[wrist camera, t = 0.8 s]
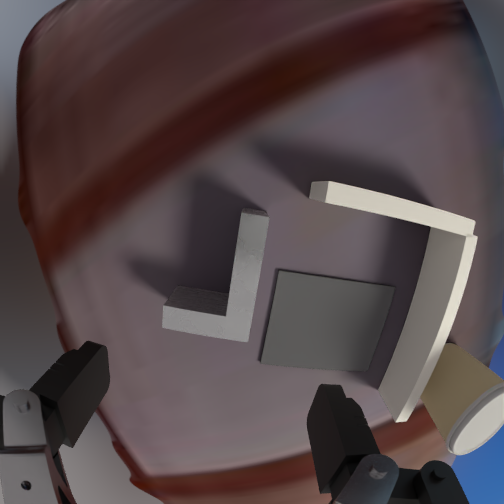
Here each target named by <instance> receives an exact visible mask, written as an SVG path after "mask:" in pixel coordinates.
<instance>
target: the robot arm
mask: <svg viewBox="0 0 504 504" xmlns="http://www.w3.org/2000/svg"><path fill="white" fill-rule="evenodd" d="M109 383H110V373H109V363H108V351H107V347H106V346H104V345H101V344H98V343H94V342H91V341H86V342H85V343H84V344H83V345H82V346H81V347H80V348H79V349H78V350H75V349H73V350H71V351H69V352H67V353H65V354H63V355H62V356H61V357H60V358H59V359H58V360H57V361H56V363H54V364H53V365H52V366H51V367H50V369H48V371H46V373H45V374H44V375H43V376H42V377H41V378H40V379H39V380H38V381H37V382H36V383H35V384H34V385H33V387H32V388H31V389H30V390H24V389H19V390H14V391H12V392H10V393H9V394H7V395H6V396H2V395H0V478H1V485H2V491H3V497H4V503H5V504H77V503H76V501H75V499H74V497H73V495H72V492H71V489H70V486H69V483H68V480H67V477H66V473H65V470H64V466H63V463H62V459H61V455H60V452H59V448H60V446H61V445H62V444H65V445H67V446H69V447H71V448H73V447H74V445H75V443H76V441H77V440H78V438H79V436H80V435H81V433H82V431H83V430H84V428H85V426H86V425H87V423H88V421H89V420H90V418H91V416H92V415H93V413H94V412H95V410H96V408H97V407H98V405H99V404H100V402H101V400H102V399H103V397H104V396H105V394H106V392H107V390H108V388H109ZM364 417H365V416H364V414H363V411H362V409H361V407H360V406H359V405H358V404H357V403H356V402H355V401H354V400H353V399H352V398H346V396H345V394H344V391H343V389H342V386H341V385H330V384H321V385H320V386H319V387H318V390H317V392H316V395H315V397H314V400H313V403H312V405H311V408H310V410H309V413H308V417H307V430H308V435H309V440H310V445H311V450H312V455H313V460H314V465H315V470H316V476H317V481H318V486H319V491H320V494H322V493H331V496H332V500H331V501H330V502H329V504H469V502H468V500H467V498H466V495H465V494H464V491H463V489H462V487H461V485H460V483H459V481H458V479H457V477H456V475H455V473H454V471H453V469H452V468H451V467H450V466H449V465H448V464H446V463H444V462H442V461H437V460H434V461H429V462H427V463H426V464H425V465H424V466H423V467H422V468H421V469H420V470H414V469H404V468H399V467H398V465H397V464H396V462H395V461H394V460H393V459H391V458H390V457H388V456H386V455H382V454H381V453H380V451H379V449H378V446H377V444H376V442H375V439H374V437H373V435H372V432H371V430H370V427H369V426H368V423H367V421H366V418H364Z"/></svg>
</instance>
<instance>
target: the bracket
mask: <svg viewBox="0 0 504 504" xmlns="http://www.w3.org/2000/svg"><path fill="white" fill-rule="evenodd" d="M269 218H270V217H269V215H268V213H267V212H266V211H261V210H255V209H248V208H243V210H242V213H241V219H240V225H239V232H238V238H237V245H236V252H235V258H234V265H233V272H232V278H231V285H230V292H229V294H228V293H221V292H215V291H209V290H203V289H197V288H191V287H185V286H180V285H178V286H177V287H176V289H175V290H174V291H173V293H172V294H171V296H170V297H169V298H168V300H167V301H166V303H165V304H164V305H163V324H162V328H167V329H172V330H177V331H182V332H187V333H193V334H198V335H204V336H210V337H216V338H222V339H229V340H235V341H242V342H248V338H249V333H250V327H251V321H252V316H253V310H254V305H255V299H256V293H257V288H258V282H259V276H260V270H261V265H262V259H263V253H264V247H265V241H266V236H267V230H268V224H269Z"/></svg>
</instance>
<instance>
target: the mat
mask: <svg viewBox="0 0 504 504" xmlns="http://www.w3.org/2000/svg"><path fill="white" fill-rule="evenodd" d="M395 288H396V287H394V286H387V285H380V284H372V283H365V282H358V281H351V280H344V279H337V278H330V277H323V276H317V275H310V274H303V273H296V272H290V271H283V270H279V272H278V278H277V283H276V288H275V293H274V298H273V303H272V308H271V313H270V318H269V323H268V328H267V333H266V338H265V343H264V347H263V352H262V357H261V361H260V364H267V365H276V366H286V367H297V368H309V369H324V370H342V371H367V370H368V368H369V365H370V363H371V360H372V358H373V355H374V352H375V350H376V347H377V344H378V341H379V338H380V336H381V333H382V330H383V327H384V324H385V321H386V318H387V315H388V311H389V308H390V305H391V302H392V298H393V295H394V292H395Z"/></svg>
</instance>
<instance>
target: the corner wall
mask: <svg viewBox="0 0 504 504" xmlns="http://www.w3.org/2000/svg"><path fill="white" fill-rule="evenodd" d="M309 199H313V200H317V201H321V202H326V203H331V204H336V205H340V206H345V207H350V208H355V209H359V210H364V211H368V212H373V213H377V214H382V215H386V216H390V217H394V218H399V219H403V220H407V221H411V222H415V223H419V224H423V225H427V226H430V227H431V229H430V234H429V238H428V243H427V247H426V252H425V256H424V260H423V264H422V268H421V271H420V275H419V279H418V282H417V286H416V289H415V293H414V296H413V299H412V302H411V306H410V309H409V312H408V315H407V318H406V321H405V324H404V327H403V329H402V332H401V335H400V338H399V340H398V343H397V346H396V348H395V351H394V353H393V356H392V359H391V361H390V363H389V366H388V368H387V371H386V373H385V375H384V378H383V380H382V382H381V384H380V387H379V389H378V391H379V393H380V395H381V397H382V399H383V400H384V402H385V404H386V406H387V408H388V409H389V411H390V413H391V415H392V417H393V419H394V420H395V422H403V421H407V420H408V418H409V416H410V414H411V413H412V411H413V409H414V407H415V406H416V404H417V402H418V400H419V398H420V396H421V394H422V392H423V390H424V388H425V387H426V385H427V383H428V380H429V378H430V376H431V374H432V372H433V370H434V368H435V366H436V363H437V361H438V359H439V357H440V354H441V352H442V350H443V347H444V345H445V342H446V340H447V337H448V335H449V332H450V330H451V327H452V324H453V322H454V319H455V316H456V313H457V310H458V308H459V305H460V301H461V298H462V295H463V292H464V289H465V285H466V282H467V279H468V275H469V271H470V268H471V264H472V260H473V256H474V251H475V247H476V243H477V238H478V237H477V236H474V235H473V230H474V225H475V221H474V220H471V219H468V218H465V217H462V216H459V215H456V214H453V213H450V212H446V211H443V210H440V209H437V208H433V207H430V206H427V205H423V204H420V203H416V202H413V201H409V200H405V199H402V198H398V197H394V196H391V195H387V194H383V193H379V192H375V191H371V190H367V189H363V188H358V187H354V186H350V185H345V184H341V183H336V182H332V181H318V182H312V184H311V190H310V196H309Z"/></svg>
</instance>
